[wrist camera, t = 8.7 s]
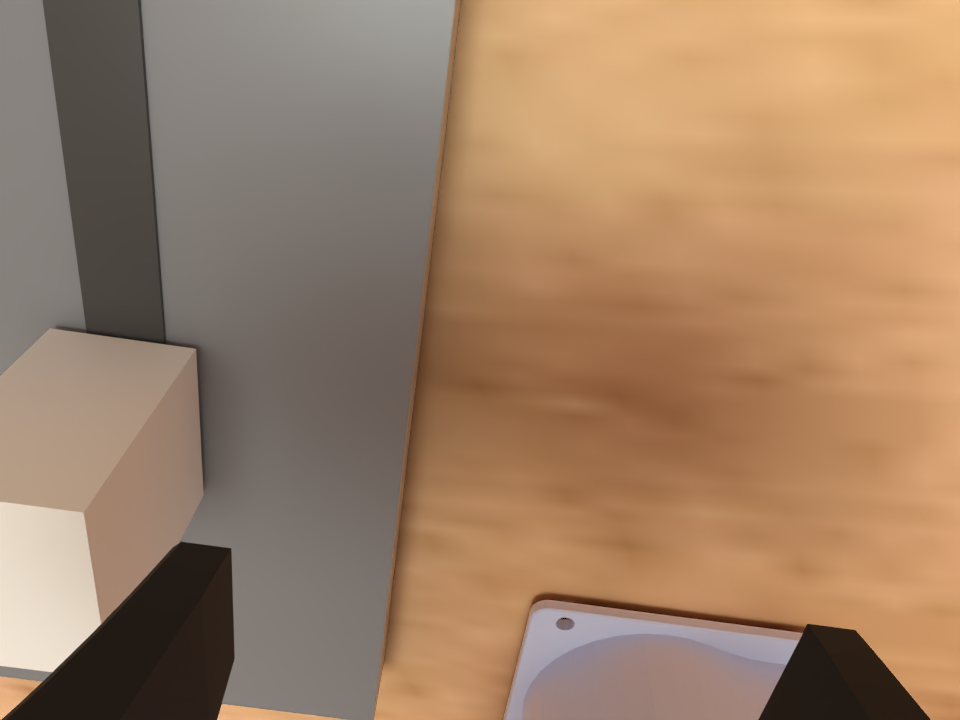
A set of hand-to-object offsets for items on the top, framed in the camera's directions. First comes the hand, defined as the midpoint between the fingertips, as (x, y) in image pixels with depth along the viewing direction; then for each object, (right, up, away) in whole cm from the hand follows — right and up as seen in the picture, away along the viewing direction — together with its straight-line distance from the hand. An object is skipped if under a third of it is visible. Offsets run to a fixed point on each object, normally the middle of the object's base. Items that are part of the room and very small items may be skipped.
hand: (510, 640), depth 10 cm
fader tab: (-8, +2, +7) cm, 11 cm away
